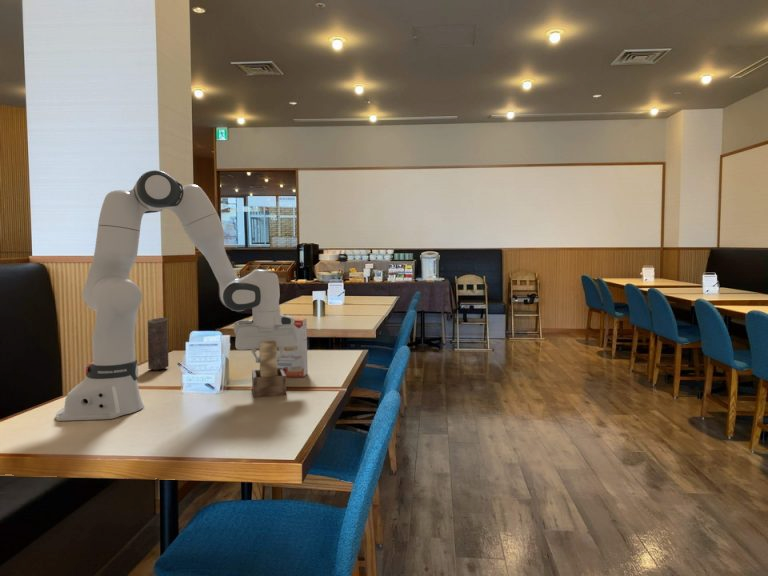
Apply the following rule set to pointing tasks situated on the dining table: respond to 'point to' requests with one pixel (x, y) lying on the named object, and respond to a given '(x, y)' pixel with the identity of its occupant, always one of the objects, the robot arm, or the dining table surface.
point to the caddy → (269, 384)
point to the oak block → (268, 359)
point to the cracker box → (295, 353)
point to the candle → (157, 344)
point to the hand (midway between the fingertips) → (268, 361)
